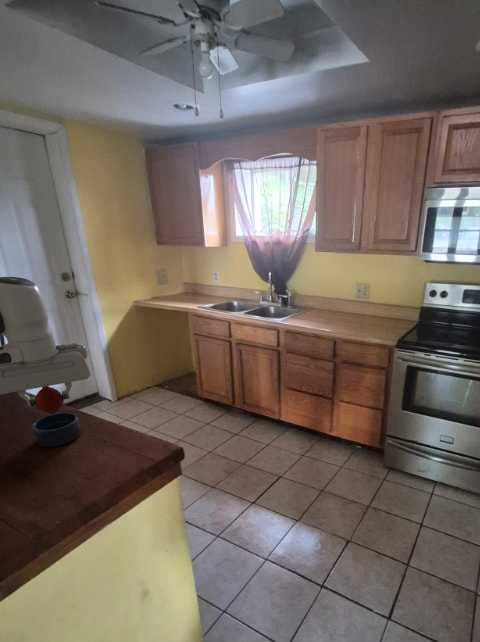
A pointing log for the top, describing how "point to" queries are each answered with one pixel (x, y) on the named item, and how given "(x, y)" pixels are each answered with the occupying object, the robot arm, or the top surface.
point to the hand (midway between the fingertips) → (49, 401)
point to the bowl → (56, 429)
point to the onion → (49, 400)
